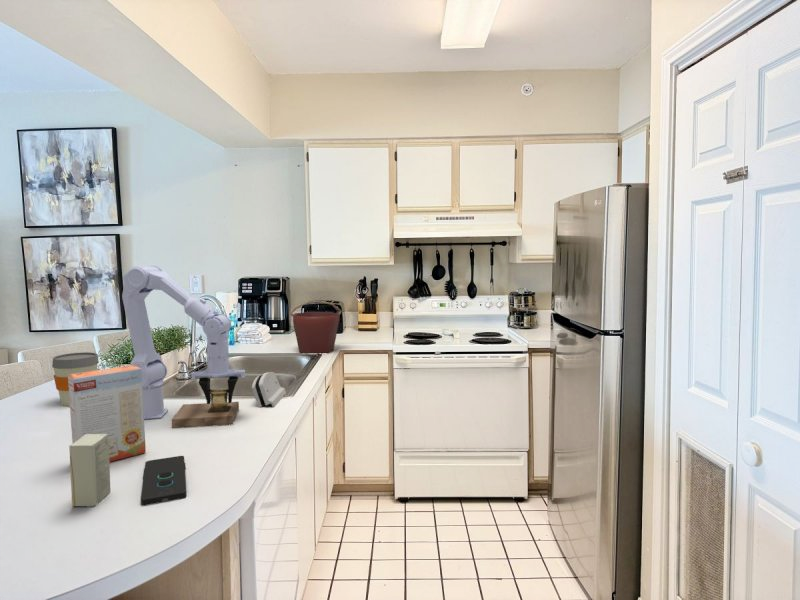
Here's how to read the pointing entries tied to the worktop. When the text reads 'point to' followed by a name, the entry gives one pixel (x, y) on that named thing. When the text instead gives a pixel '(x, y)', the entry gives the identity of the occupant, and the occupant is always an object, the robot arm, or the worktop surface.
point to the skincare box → (89, 469)
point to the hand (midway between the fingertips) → (219, 402)
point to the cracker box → (109, 408)
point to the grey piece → (267, 389)
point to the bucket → (316, 329)
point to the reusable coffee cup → (71, 370)
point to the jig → (204, 415)
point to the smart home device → (163, 480)
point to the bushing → (218, 399)
